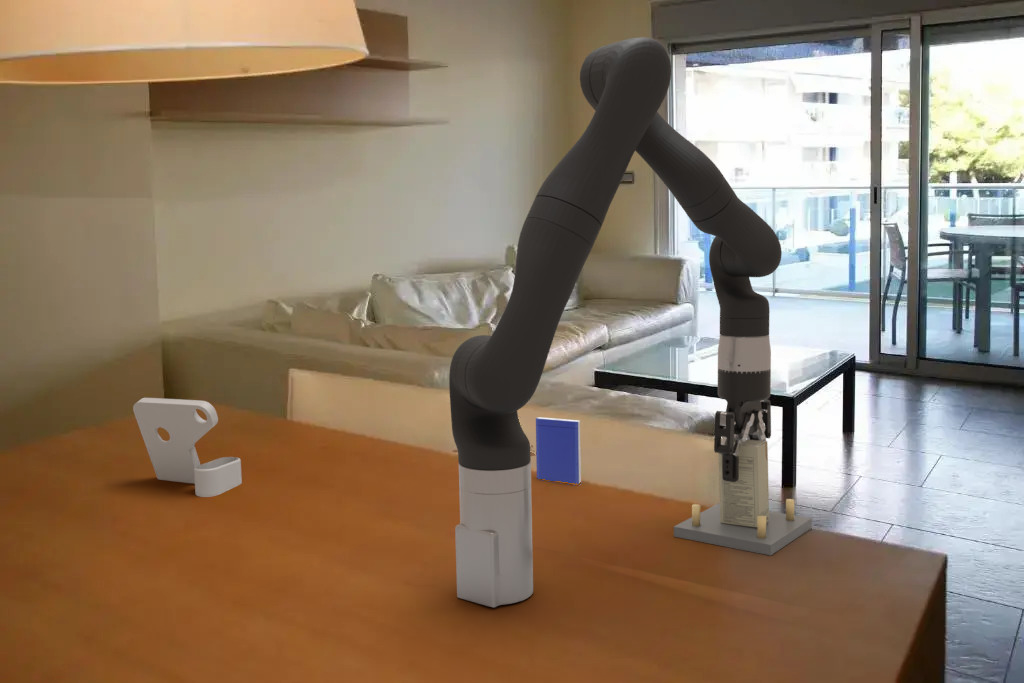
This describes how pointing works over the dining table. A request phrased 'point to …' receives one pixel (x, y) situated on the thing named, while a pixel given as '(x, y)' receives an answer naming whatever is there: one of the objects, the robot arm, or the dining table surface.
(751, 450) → the skincare box
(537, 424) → the hard drive
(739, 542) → the standoff plate
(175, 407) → the phone holder
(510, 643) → the dining table surface
